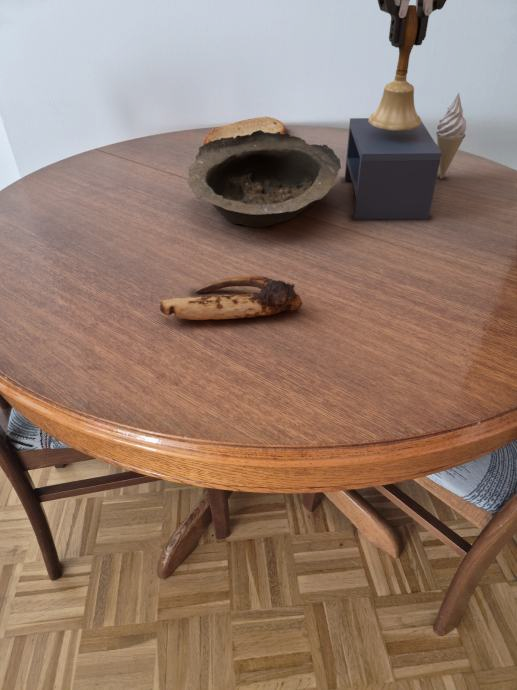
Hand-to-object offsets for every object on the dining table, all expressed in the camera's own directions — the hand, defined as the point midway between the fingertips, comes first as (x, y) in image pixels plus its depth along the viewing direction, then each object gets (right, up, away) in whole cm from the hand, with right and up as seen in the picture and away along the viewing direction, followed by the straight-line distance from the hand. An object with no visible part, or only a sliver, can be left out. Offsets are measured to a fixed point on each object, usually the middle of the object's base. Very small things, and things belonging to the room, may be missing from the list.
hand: (406, 44), depth 79 cm
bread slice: (-24, -1, +37) cm, 44 cm away
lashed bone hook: (-25, -39, -8) cm, 47 cm away
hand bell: (0, -9, +7) cm, 11 cm away
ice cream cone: (+12, -13, +22) cm, 28 cm away
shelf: (0, -18, +16) cm, 24 cm away
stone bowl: (-21, -21, +13) cm, 32 cm away
